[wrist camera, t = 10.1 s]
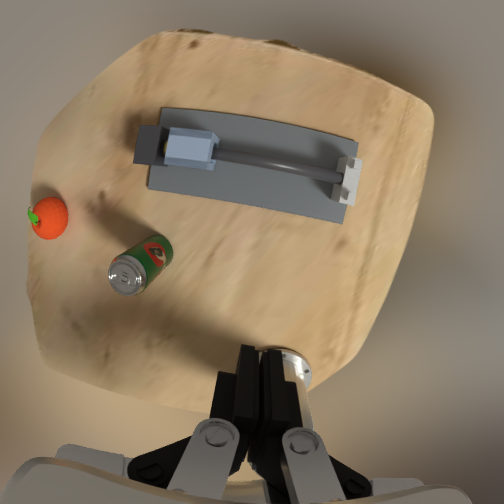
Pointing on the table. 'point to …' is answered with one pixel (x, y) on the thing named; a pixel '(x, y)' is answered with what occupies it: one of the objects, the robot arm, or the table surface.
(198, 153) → the sleeve
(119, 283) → the soda can
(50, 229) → the clementine
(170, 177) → the linear slide rail
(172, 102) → the table surface
